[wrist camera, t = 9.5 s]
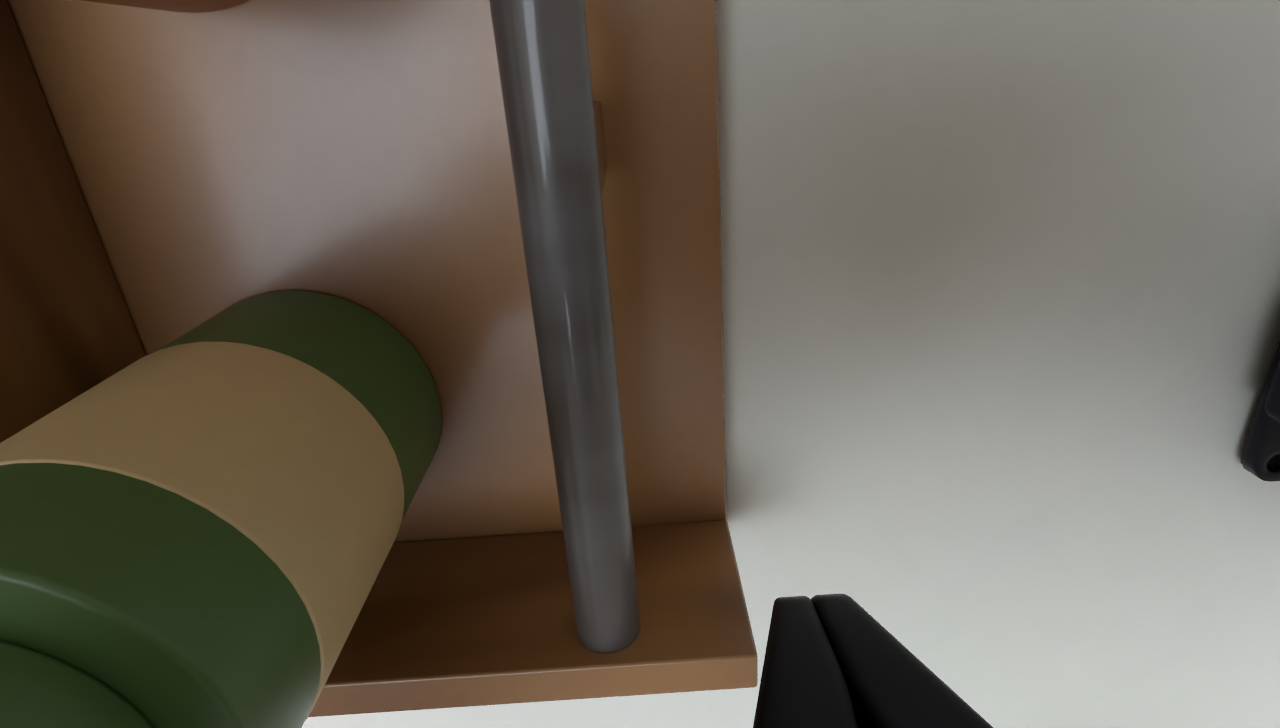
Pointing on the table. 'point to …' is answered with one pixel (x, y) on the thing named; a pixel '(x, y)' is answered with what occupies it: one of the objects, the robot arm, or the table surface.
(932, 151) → the table surface
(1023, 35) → the table surface
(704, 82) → the rack
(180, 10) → the amber bottle
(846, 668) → the robot arm
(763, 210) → the table surface
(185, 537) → the green bottle
